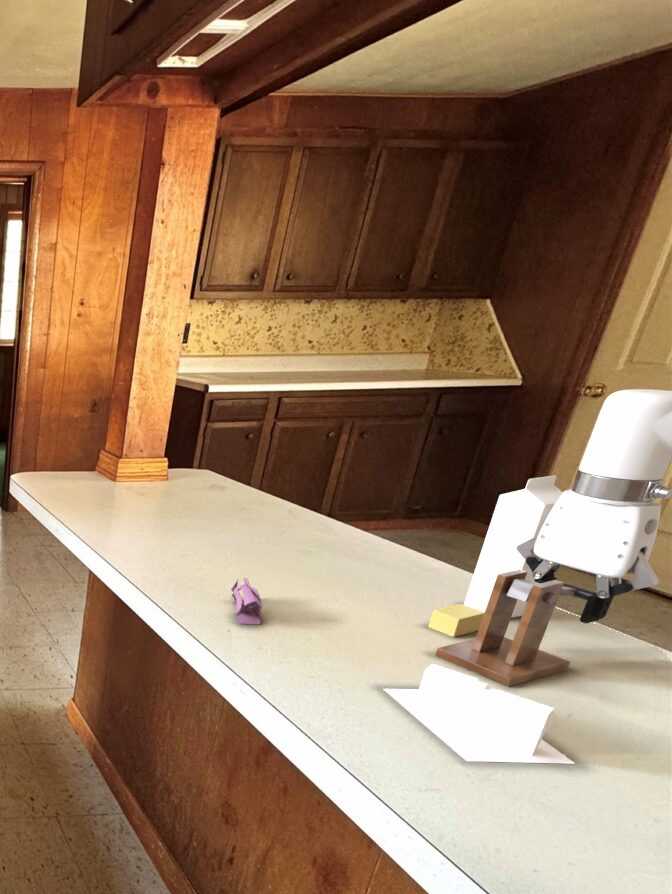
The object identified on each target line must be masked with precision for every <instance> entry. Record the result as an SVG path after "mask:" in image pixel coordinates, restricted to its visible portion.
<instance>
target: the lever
mask: <svg viewBox="0 0 672 894" xmlns="http://www.w3.org/2000/svg"><path fill="white" fill-rule="evenodd" d="M552 581H553V580H552ZM536 584H540V583H537V582H533V581H530V580H526V579H514V581H513V583H512V585H511V587H510V589H509V591H508V593H507V596H509V597H512V598H515V599H518V600H522V601H525V602H527V601H528V599H529V596H530V593H531V590H532V588H533V585H536ZM595 593H596V591H594V590H590V589H586V588H583V587H579V586H576V585H573V584H569V583H566V582H564V585H563V587H562V590H561V592H560V595H559V597H560V596H561V597H567V596H569V597H573V598H576V599H579V600H583V601H585V602H587V600H588V598H589V597H590V596H592V595H595Z"/></svg>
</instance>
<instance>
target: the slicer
mask: <svg viewBox="0 0 672 894" xmlns="http://www.w3.org/2000/svg"><path fill="white" fill-rule="evenodd" d="M526 575H527V571H523V570H515V571H510V572H506V573H501V574H498V575H497V578H496V581H495V584H494V587H493V590H492V593H491V596H490V598H489V601H488V604H487V607H486V610H485V613H484V616H483V619H482V622H481V625H480V627H479V630H478V631H477V633H476V636H475V638H472V639H468V640H464V641H460V642H456V643H453V644H449V645H444V646H440V647H438V648H437V649H436V652H435V656H436V657H438V658H441V659H443V660H445V661H447V662H450V663H452V664H454V665H457V666H460V667H462V668H463V669H466V670H469V671H471V672H474V673H475V674H477V675H480V676H483V677H485V678H487V679H490V680H492V681H494V682H496V683H499V684H501V685H503V686H506V687H512V686H515V685H519V684H522V683H526V682H529V681H532V680H536V679H539V678H542V677H546V676H549V675H552V674H556V673H559V672H563V671H567V670H569V667H570V664H571V661H570V660H567V659H564V658H562V657H559V656H556V655H554V654H550V653H548V652H546V651H542V650H540V646H541V643H542V641H543V639H544V636H545V633H546V632H547V628H548V626H549V624H550V620H551V618H552V616H553V613H554V610H555V608H556V605H557V602H558V600H559V598H560V596H559V595H560V592H561V590H562V587H563V585H564V583H565V582H564V581H561V580H558V579H556V580H553V581H549V582H544V583H540V584H536V585H533V588H532V590H531V593H530V596H529V599H528V601H527V604H526V607H525V609H524V612H523V615H522V616H520V617H521V618H520V621H519V623H518V625H517V628H516V631H515V633H514V636H513V639H510V638H508V637H505V635H506V633H507V630H508V627H509V625H510V621H511V619H512V618H511V616H512V613H513V611H514V608H515V605H516V602H517V600H518V599H515V598H512V597H509V596H507V593H508V591H509V589H510V587H511V585H512V583H513V581H514V579H525V578H526Z"/></svg>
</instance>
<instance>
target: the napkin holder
mask: <svg viewBox="0 0 672 894" xmlns="http://www.w3.org/2000/svg"><path fill="white" fill-rule="evenodd" d="M382 690H383V691H384V692H385V693H387V695H389V696H390V697H391V698H393V699H394V701H396V702H397V703H398V704H400V705H401V706H402V707H403V708H404V709H405V710H406V711H407V712H409V713H410V714H411V715H412V716H413V717H414V718H416V719H417V720H418V721H419V722H420V723H421V724H422V725H424V726H425V727H426V728H427V729H428V730H430V731H431V732H432V733H433V734H434V735H436V737H438V738H439V739H440V740H441V741H442V742H444V743H445V744H446V745H447V746H448V747H449V748H451V749H452V750H453V751H454V752H455V753H456V754H458V755H459V756H460V757H461V758H462V759H463V760H465V761H466V762H485V763H486V762H487V763H489V762H491V763H527V764H528V763H529V764H531V763H532V764H568V765H569V764H572V765H575V764H576V762H574V761H573V760H571V759H570V758H569V757H567V756H566V753H564V754H563V753H562V752H560V751H559V750H557V749H556V748H555V747H553V746H552V745H551V744H549V743H547V741H545V740H543V737H544V734H545V732H546V729H547V727H548V724H549V722H550V720H551V718H552V715H553V713H554V710H555V707H552V706H550V705H547V704H543V703H541V702H537V701H534V700H531V699H528V698H526V697H522V696H520V695H516V694H513V693H510V692H508V691H505V690H501V689H498V688H495V687H492V686H489V684H488V683H486V682H483V681H480V678H478V677H474V676H472V675H469V674H465V673H463V672H460V671H457V670H454V669H451V668H449V667H448V668H447V667H445V666H441V665H438V664H436V663H431V664H430V665H429V666H427V667H426V668H425V669H424V672H423V675H422V678H421V681H420V684H419V688H382Z"/></svg>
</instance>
